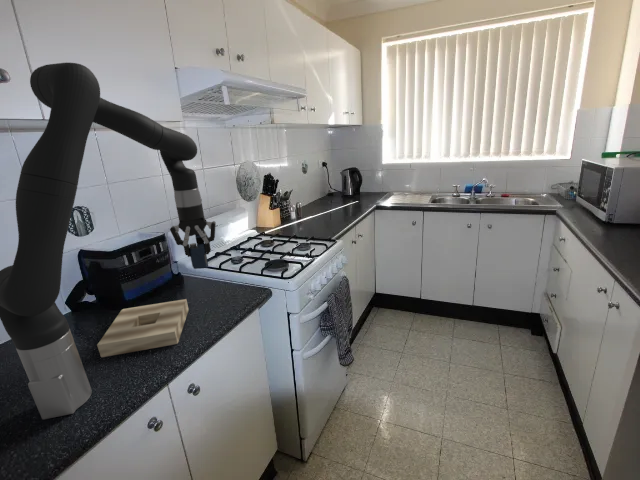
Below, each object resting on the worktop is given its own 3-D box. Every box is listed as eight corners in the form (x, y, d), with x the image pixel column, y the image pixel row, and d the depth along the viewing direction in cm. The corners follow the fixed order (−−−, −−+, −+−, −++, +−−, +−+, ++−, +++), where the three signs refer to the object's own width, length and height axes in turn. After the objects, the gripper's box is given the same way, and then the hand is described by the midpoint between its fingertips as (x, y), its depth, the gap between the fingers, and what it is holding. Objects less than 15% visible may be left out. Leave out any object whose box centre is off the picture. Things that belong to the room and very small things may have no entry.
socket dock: (177, 343, 96) (174, 331, 94) (101, 357, 92) (97, 345, 91) (188, 309, 114) (186, 299, 113) (125, 319, 111) (122, 309, 110)
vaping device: (207, 268, 109) (200, 233, 106) (191, 269, 110) (184, 234, 106) (210, 265, 112) (203, 230, 108) (194, 266, 112) (187, 231, 108)
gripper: (161, 208, 99) (173, 262, 105) (211, 203, 102) (220, 255, 107) (167, 203, 106) (177, 254, 112) (213, 199, 109) (222, 248, 114)
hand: (198, 254), depth 109 cm, fingers closed on vaping device, 5 cm apart
